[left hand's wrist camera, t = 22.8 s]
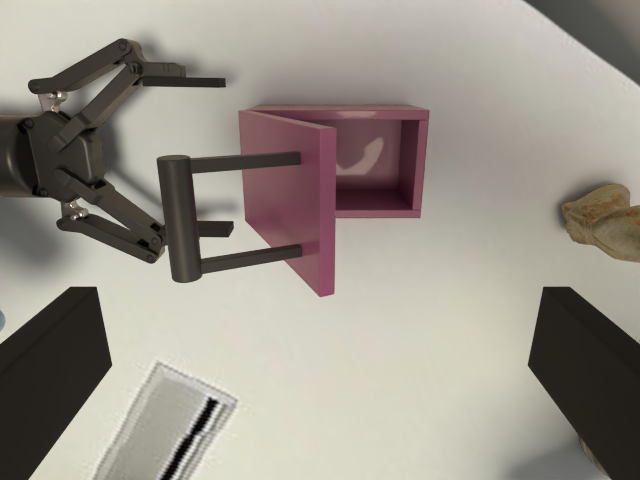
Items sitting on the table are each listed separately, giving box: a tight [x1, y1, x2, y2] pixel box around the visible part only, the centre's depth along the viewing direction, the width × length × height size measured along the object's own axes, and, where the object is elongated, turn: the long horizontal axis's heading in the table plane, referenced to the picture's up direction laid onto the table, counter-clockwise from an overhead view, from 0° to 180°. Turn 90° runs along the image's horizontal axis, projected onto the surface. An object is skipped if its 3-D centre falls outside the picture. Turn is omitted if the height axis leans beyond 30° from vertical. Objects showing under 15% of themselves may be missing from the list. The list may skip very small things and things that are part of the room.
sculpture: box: [562, 184, 640, 263], centre depth 41 cm, size 6×7×15 cm
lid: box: [157, 110, 337, 297], centre depth 29 cm, size 16×10×9 cm
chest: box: [245, 105, 429, 218], centre depth 42 cm, size 16×10×9 cm, turn 90°
